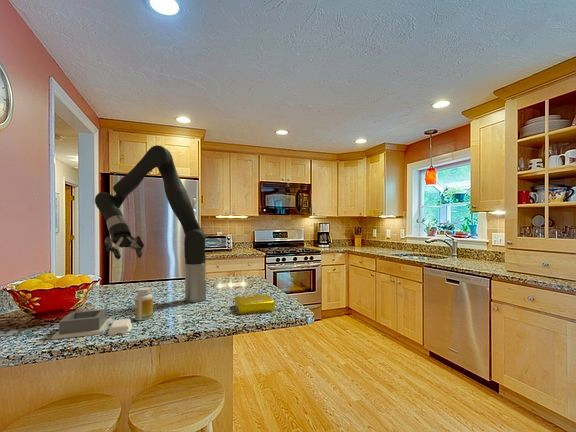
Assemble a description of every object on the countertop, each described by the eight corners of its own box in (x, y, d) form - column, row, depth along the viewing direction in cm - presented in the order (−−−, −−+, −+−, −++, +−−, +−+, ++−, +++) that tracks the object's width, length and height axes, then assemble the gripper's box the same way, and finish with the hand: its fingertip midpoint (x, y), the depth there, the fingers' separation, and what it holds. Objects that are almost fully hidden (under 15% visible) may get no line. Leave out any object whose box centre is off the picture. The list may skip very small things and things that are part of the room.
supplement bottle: (155, 315, 118) (155, 286, 119) (148, 320, 112) (148, 290, 112) (139, 315, 118) (139, 287, 119) (131, 321, 112) (131, 290, 112)
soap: (130, 333, 100) (130, 324, 100) (106, 336, 98) (106, 327, 98) (132, 325, 108) (132, 317, 108) (111, 327, 106) (111, 319, 106)
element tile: (239, 315, 119) (239, 303, 119) (234, 305, 133) (233, 294, 133) (276, 311, 123) (275, 300, 123) (266, 302, 138) (266, 292, 138)
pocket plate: (111, 320, 112) (112, 307, 113) (103, 333, 99) (103, 318, 99) (67, 325, 108) (67, 311, 108) (51, 339, 94) (52, 323, 95)
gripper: (103, 222, 123) (115, 252, 116) (138, 222, 135) (150, 250, 128) (97, 234, 126) (108, 264, 119) (131, 233, 138) (143, 261, 131)
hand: (130, 257), depth 124 cm, fingers open, 8 cm apart
